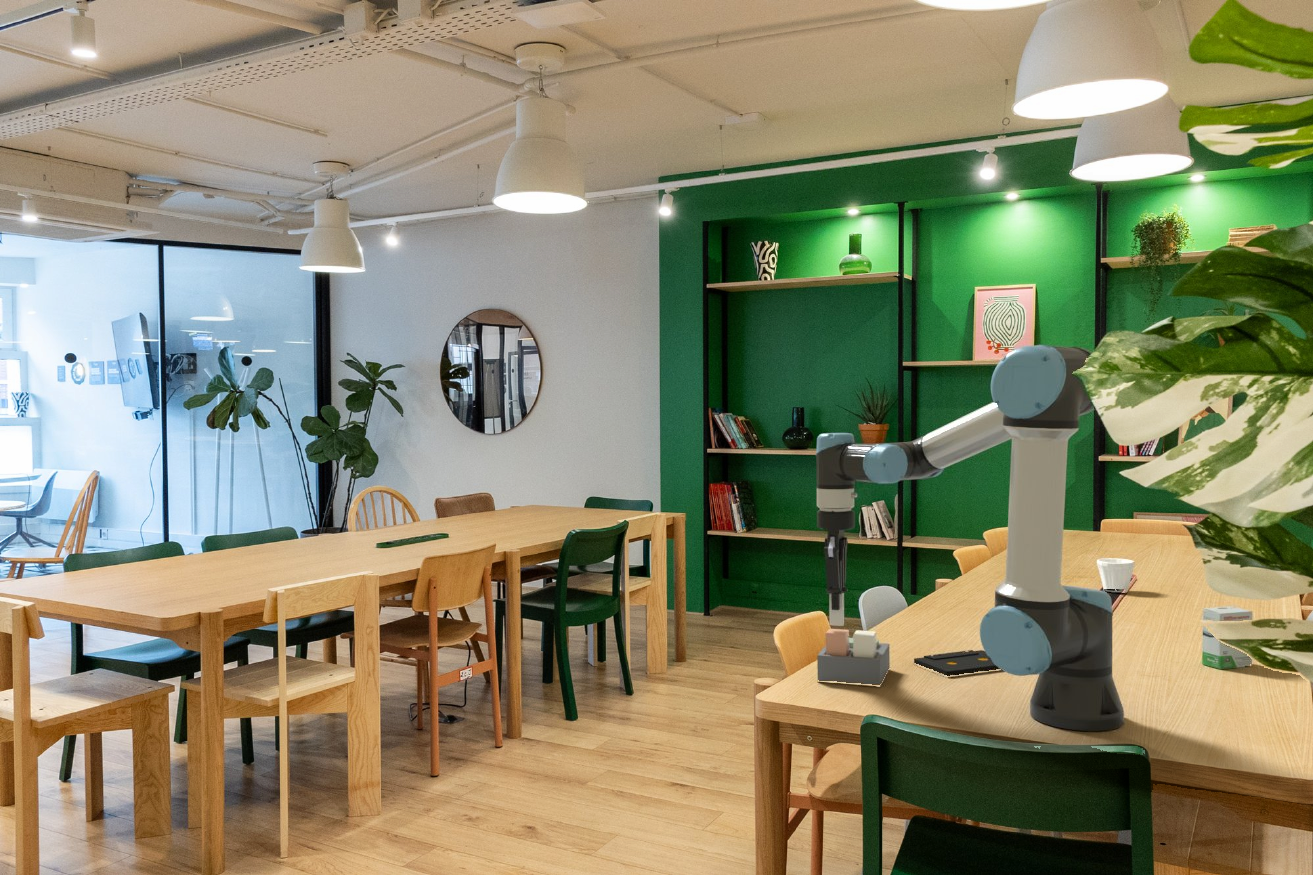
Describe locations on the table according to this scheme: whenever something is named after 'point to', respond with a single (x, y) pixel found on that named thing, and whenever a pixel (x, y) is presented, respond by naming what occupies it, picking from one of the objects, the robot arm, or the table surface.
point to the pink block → (837, 642)
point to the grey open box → (854, 666)
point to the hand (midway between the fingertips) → (836, 624)
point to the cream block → (864, 644)
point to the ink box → (1217, 651)
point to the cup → (1115, 572)
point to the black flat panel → (958, 662)
